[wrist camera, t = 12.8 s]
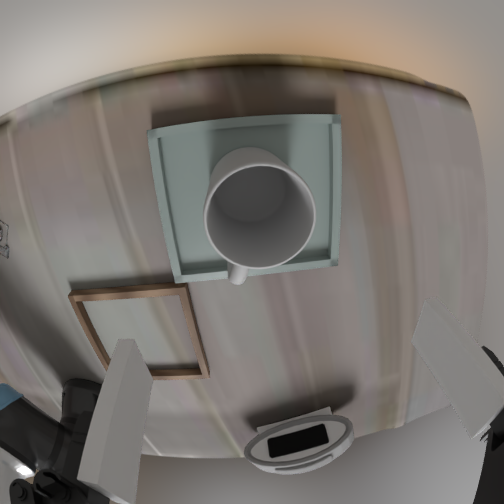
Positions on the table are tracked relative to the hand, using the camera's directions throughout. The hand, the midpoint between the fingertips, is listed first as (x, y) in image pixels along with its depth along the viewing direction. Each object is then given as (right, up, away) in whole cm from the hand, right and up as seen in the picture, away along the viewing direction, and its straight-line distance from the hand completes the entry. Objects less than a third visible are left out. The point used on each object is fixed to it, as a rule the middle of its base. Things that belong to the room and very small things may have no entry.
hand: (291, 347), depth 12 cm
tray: (-2, +10, +20) cm, 23 cm away
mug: (-2, +10, +20) cm, 22 cm away
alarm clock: (+8, -34, +43) cm, 55 cm away
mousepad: (-40, +3, +21) cm, 45 cm away
